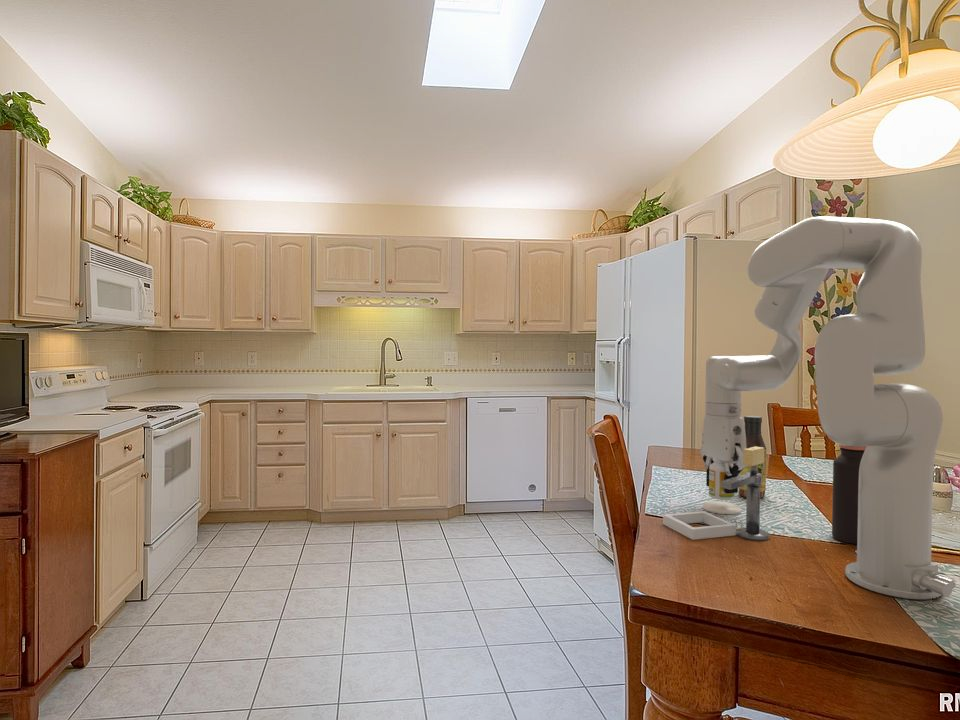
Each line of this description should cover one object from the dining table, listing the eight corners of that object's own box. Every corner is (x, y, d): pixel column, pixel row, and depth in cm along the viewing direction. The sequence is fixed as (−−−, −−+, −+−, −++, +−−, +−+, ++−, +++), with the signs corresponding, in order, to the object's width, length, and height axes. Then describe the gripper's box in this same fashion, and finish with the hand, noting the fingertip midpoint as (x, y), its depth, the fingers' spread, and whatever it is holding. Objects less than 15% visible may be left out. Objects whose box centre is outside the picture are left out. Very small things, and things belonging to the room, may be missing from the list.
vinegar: (833, 531, 117) (835, 433, 117) (873, 538, 113) (876, 436, 113) (830, 541, 112) (832, 437, 111) (873, 548, 108) (875, 440, 107)
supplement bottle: (737, 497, 133) (738, 454, 132) (729, 501, 129) (729, 458, 128) (714, 492, 136) (714, 451, 136) (704, 497, 132) (705, 455, 132)
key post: (776, 539, 113) (777, 488, 112) (750, 541, 111) (751, 490, 111) (754, 529, 118) (755, 480, 118) (729, 532, 117) (730, 482, 116)
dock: (736, 535, 115) (736, 525, 115) (692, 539, 112) (692, 529, 112) (704, 520, 124) (704, 511, 124) (663, 524, 122) (663, 514, 122)
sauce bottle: (762, 500, 140) (763, 418, 139) (734, 496, 144) (736, 416, 143) (768, 495, 145) (769, 416, 144) (741, 491, 149) (742, 414, 148)
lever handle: (766, 483, 115) (767, 448, 115) (733, 494, 106) (734, 456, 106) (751, 480, 117) (752, 445, 117) (718, 491, 108) (718, 454, 108)
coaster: (748, 513, 130) (748, 509, 130) (718, 515, 128) (718, 512, 128) (724, 503, 138) (724, 500, 138) (695, 505, 135) (695, 502, 135)
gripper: (764, 414, 125) (763, 498, 125) (712, 405, 141) (711, 479, 142) (734, 415, 123) (733, 500, 123) (685, 406, 139) (684, 481, 140)
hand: (721, 488), depth 132 cm, fingers closed on supplement bottle, 5 cm apart
